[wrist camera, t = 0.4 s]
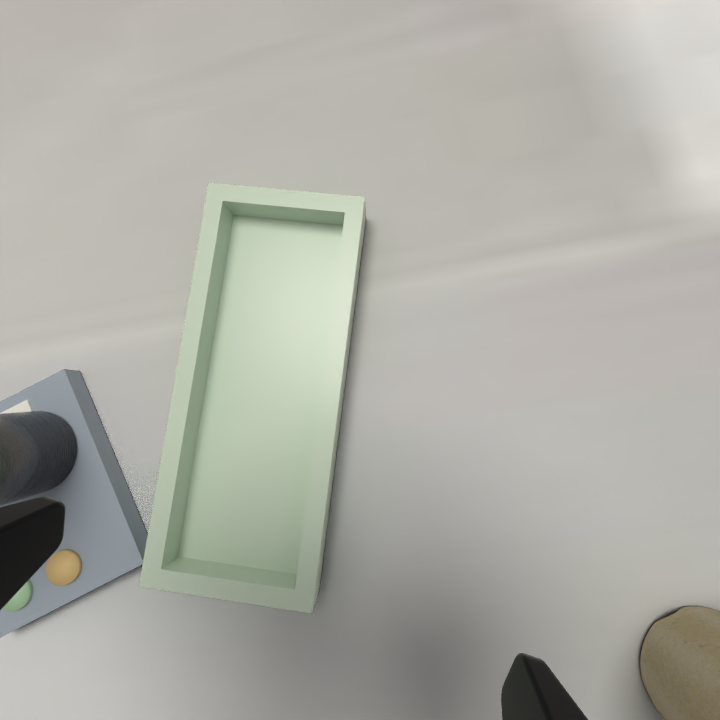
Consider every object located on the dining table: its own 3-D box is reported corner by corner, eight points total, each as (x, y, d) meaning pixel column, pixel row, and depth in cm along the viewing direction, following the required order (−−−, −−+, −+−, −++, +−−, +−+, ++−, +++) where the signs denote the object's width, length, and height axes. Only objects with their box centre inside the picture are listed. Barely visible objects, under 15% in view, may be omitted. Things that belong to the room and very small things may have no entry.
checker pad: (16, 627, 22) (-10, 643, 21) (-53, 438, 24) (-81, 440, 22) (156, 555, 23) (140, 565, 21) (79, 370, 24) (60, 368, 22)
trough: (319, 590, 22) (311, 613, 19) (165, 566, 22) (138, 586, 20) (366, 218, 24) (365, 196, 22) (225, 205, 25) (208, 182, 22)
